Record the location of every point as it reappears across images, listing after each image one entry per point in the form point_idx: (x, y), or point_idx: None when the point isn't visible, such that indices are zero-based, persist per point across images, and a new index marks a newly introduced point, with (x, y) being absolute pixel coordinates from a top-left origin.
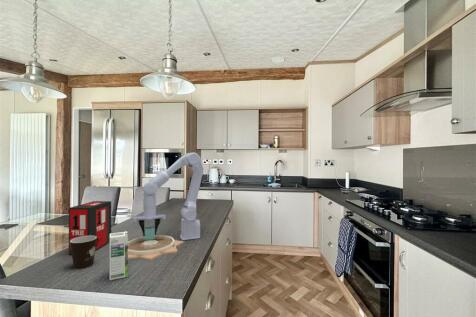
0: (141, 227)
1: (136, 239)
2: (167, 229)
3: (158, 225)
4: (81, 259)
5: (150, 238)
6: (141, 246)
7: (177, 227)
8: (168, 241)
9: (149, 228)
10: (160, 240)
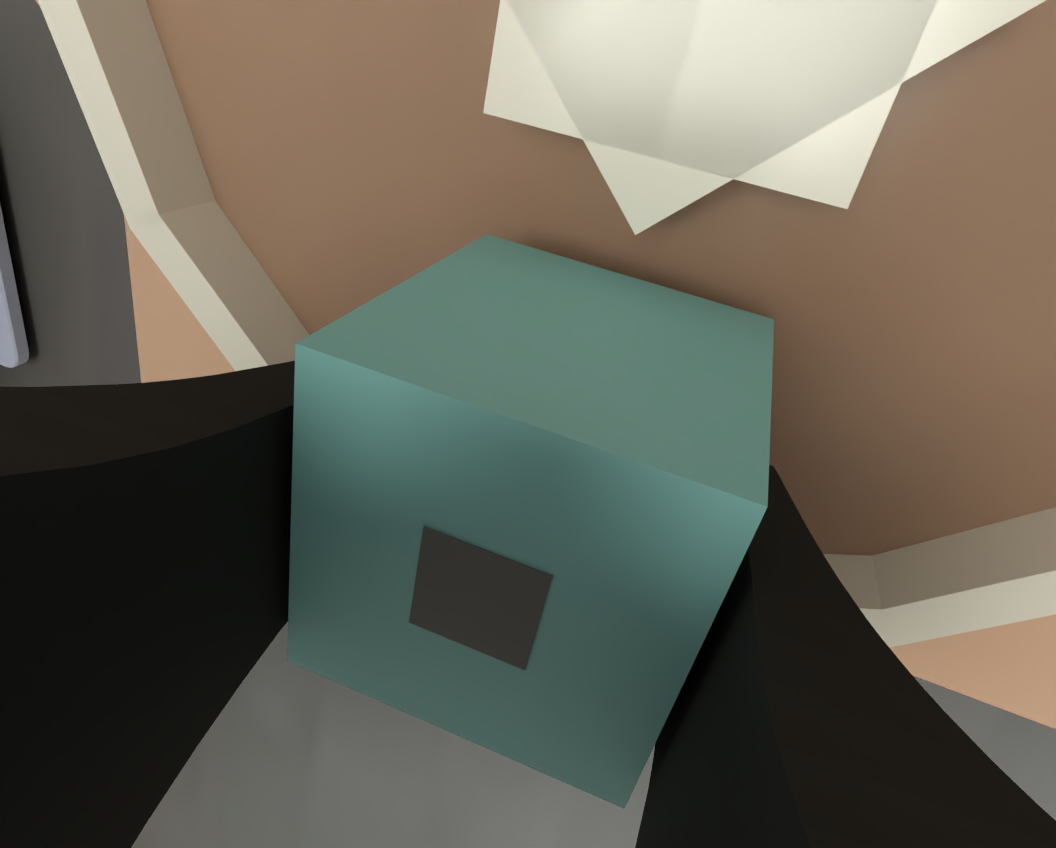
0: (936, 717)
1: (904, 589)
2: (210, 759)
3: (46, 393)
4: None
5: (597, 276)
6: (982, 67)
7: None
8: (211, 48)
9: (503, 534)
10: (371, 263)
